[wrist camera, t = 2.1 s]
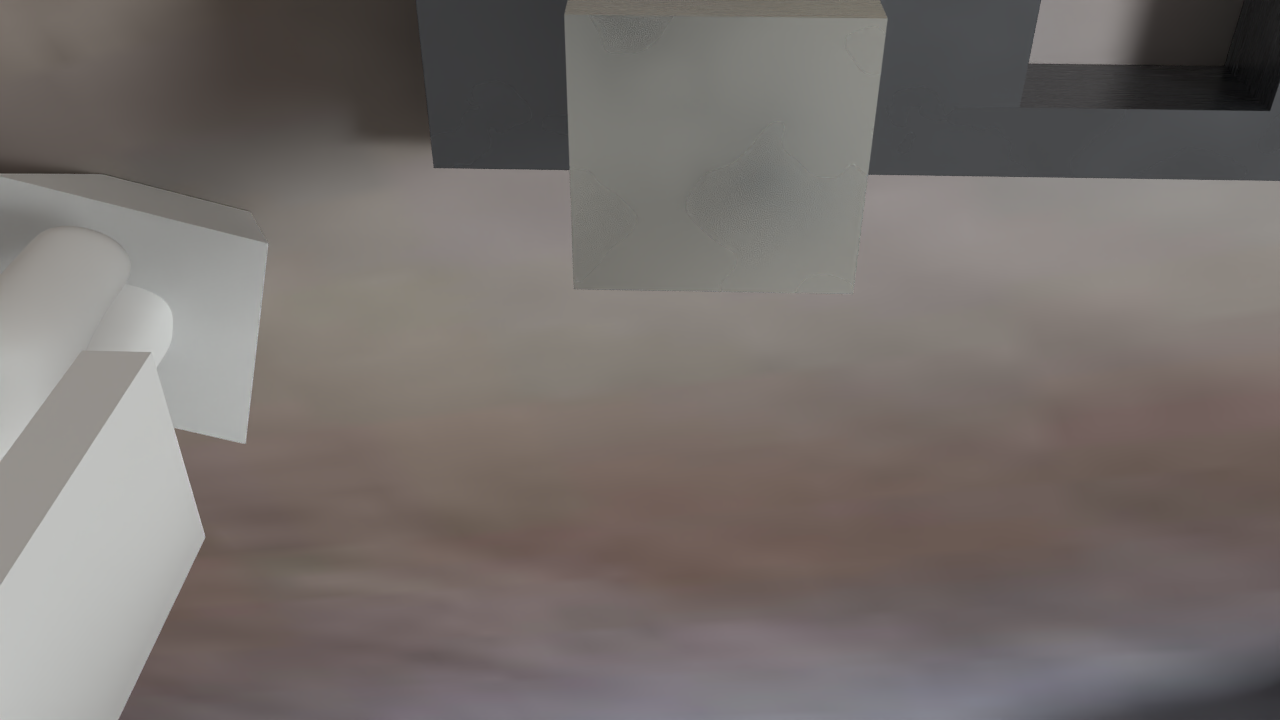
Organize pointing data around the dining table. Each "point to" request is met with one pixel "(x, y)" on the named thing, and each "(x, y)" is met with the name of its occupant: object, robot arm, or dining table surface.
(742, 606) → the dining table surface
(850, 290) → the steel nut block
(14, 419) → the figurine
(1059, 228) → the dining table surface
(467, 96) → the dark grey flat block
